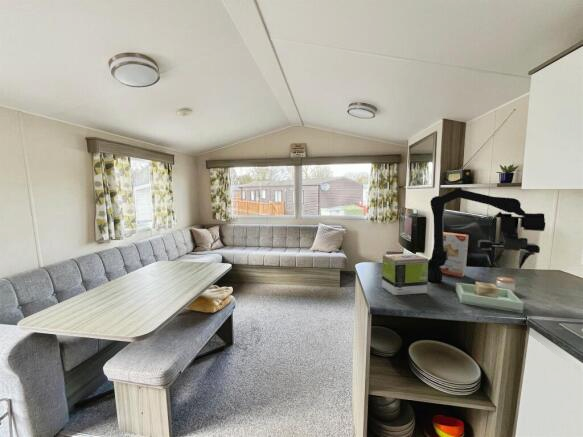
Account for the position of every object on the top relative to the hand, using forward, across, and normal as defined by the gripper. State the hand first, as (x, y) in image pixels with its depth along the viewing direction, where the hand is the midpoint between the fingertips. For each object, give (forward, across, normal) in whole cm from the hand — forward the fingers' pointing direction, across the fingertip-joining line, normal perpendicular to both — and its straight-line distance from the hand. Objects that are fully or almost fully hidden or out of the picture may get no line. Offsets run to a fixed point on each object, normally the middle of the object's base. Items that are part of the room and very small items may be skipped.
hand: (505, 266), depth 105 cm
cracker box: (+11, -18, +20) cm, 29 cm away
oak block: (+10, -8, -12) cm, 18 cm away
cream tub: (+11, +2, +4) cm, 12 cm away
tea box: (+11, -37, -17) cm, 42 cm away
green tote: (+11, -8, -13) cm, 19 cm away
